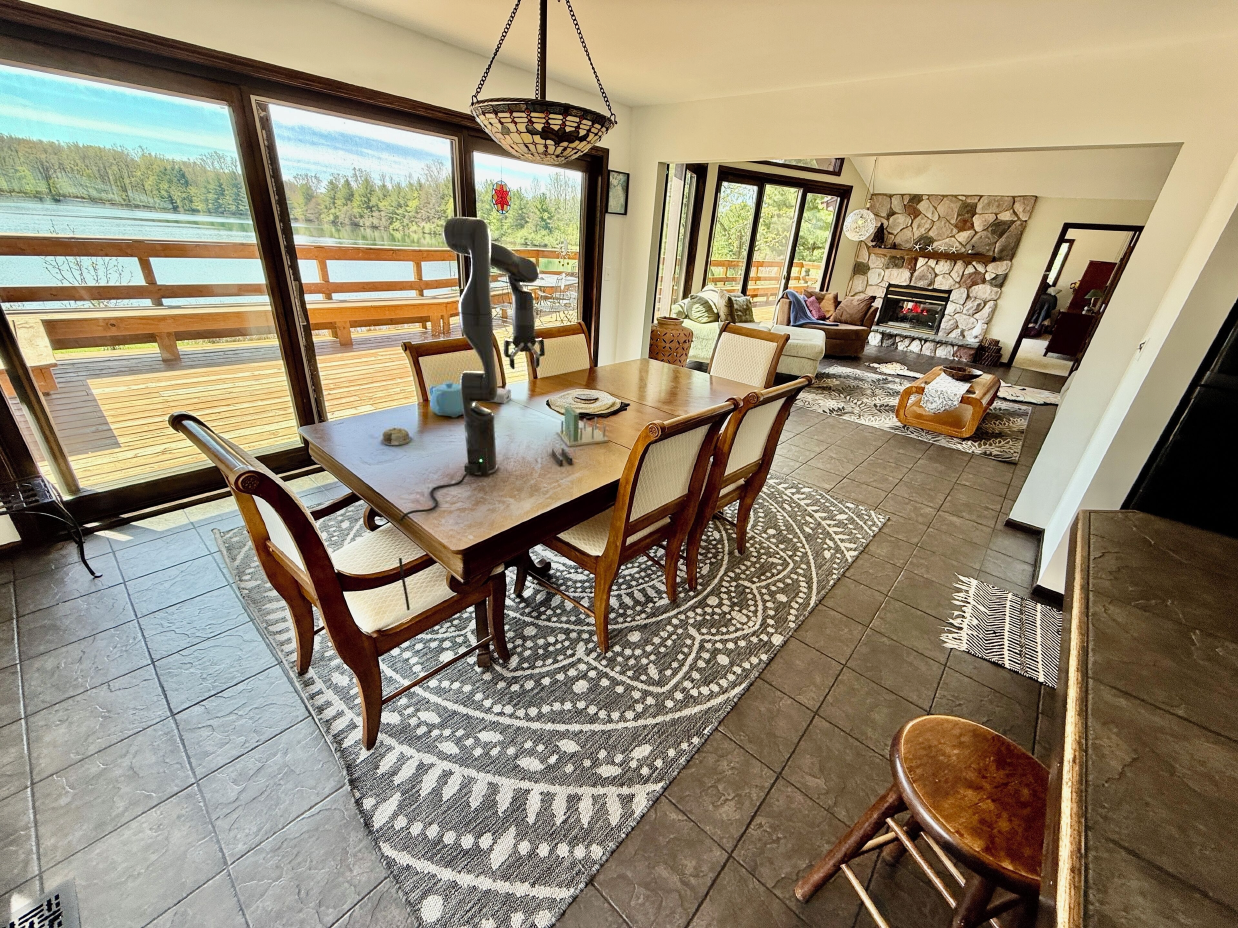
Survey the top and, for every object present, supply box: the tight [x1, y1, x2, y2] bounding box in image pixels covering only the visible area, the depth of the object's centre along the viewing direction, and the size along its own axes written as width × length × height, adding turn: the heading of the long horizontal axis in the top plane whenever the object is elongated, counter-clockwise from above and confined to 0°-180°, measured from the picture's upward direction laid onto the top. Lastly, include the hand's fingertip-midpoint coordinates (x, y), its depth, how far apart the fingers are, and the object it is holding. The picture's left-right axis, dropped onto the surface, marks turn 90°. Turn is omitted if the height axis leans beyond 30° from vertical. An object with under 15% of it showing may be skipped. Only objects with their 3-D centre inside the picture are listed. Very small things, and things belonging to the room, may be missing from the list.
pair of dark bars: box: [551, 446, 573, 467], centre depth 171 cm, size 10×4×2 cm, turn 24°
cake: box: [381, 427, 412, 446], centre depth 176 cm, size 10×10×5 cm
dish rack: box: [557, 417, 610, 447], centre depth 190 cm, size 14×16×6 cm
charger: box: [492, 387, 512, 404], centre depth 225 cm, size 5×9×15 cm
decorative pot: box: [428, 381, 464, 418], centre depth 204 cm, size 16×16×14 cm
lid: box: [563, 404, 580, 442], centre depth 186 cm, size 11×2×11 cm, turn 24°
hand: (524, 368), depth 173 cm, fingers open, 8 cm apart
